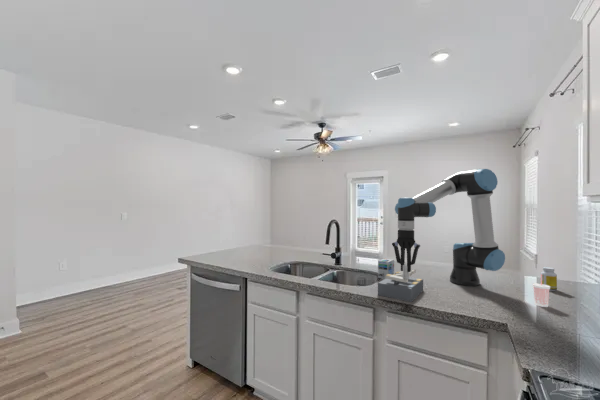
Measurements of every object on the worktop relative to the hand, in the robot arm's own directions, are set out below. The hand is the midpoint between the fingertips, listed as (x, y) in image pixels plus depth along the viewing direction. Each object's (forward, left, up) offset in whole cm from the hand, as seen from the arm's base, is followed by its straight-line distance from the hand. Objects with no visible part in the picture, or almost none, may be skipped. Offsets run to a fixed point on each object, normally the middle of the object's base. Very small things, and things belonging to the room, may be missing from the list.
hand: (405, 278), depth 136 cm
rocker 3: (+4, -14, -1) cm, 15 cm away
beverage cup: (-52, -29, -10) cm, 60 cm away
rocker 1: (+4, 0, -1) cm, 4 cm away
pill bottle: (-57, -63, -10) cm, 85 cm away
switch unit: (+4, -7, -10) cm, 13 cm away
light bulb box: (+21, -32, -10) cm, 40 cm away
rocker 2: (+4, -7, -1) cm, 8 cm away
